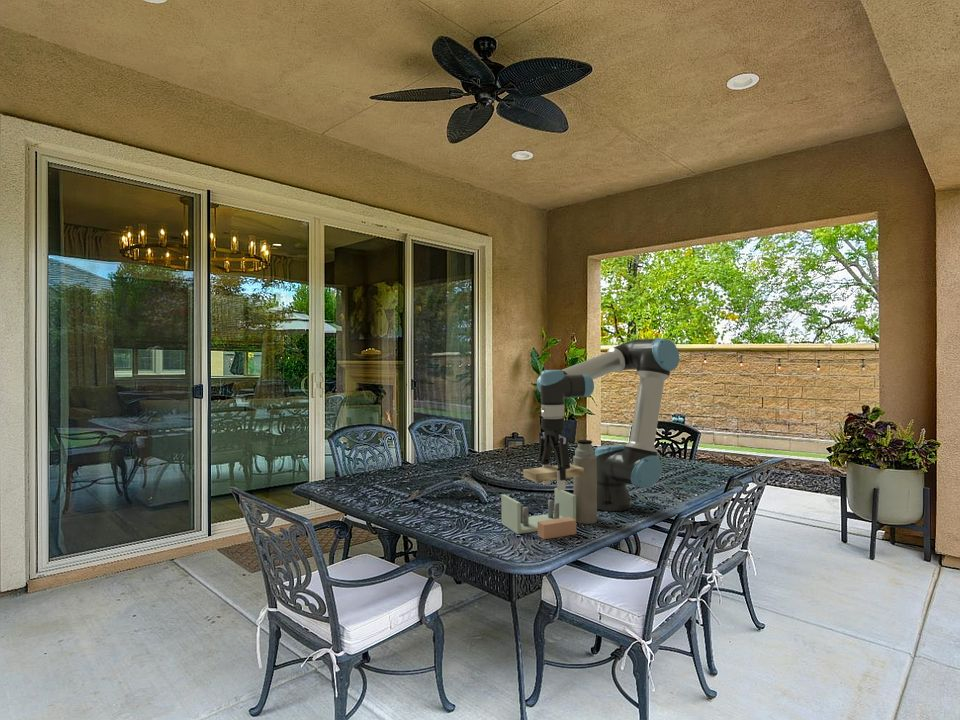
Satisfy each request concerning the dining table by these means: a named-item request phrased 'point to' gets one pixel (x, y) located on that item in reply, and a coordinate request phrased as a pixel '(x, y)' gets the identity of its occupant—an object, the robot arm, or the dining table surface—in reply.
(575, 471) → the oak shelf board
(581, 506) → the thermos bottle
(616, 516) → the dining table surface
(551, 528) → the terracotta brick
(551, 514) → the peg frame
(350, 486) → the dining table surface
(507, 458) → the dining table surface
